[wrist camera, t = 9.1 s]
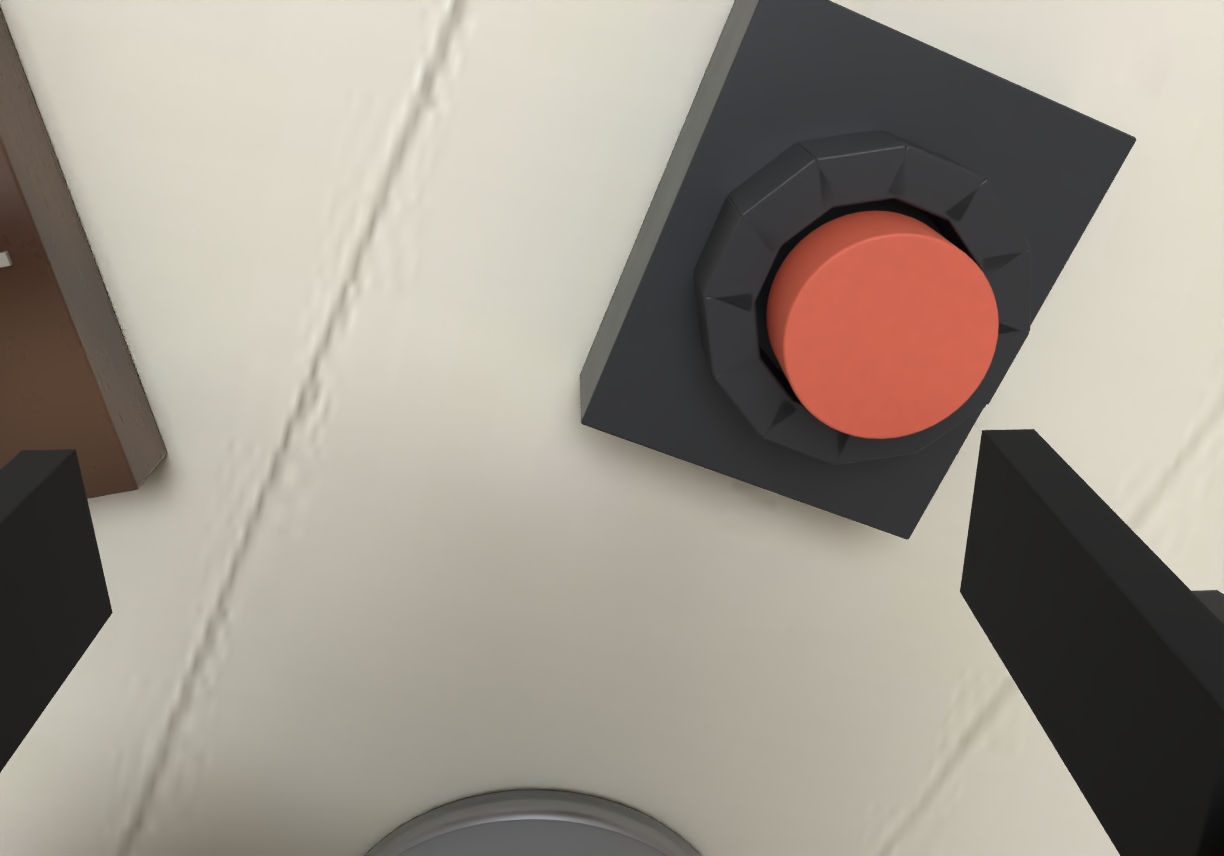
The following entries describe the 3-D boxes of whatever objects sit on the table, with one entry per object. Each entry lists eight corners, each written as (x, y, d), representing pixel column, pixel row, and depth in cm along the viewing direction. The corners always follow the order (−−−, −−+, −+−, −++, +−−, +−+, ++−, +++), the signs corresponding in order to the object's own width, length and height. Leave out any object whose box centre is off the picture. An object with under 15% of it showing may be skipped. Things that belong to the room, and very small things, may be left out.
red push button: (906, 428, 28) (934, 468, 25) (733, 363, 27) (747, 398, 25) (1001, 254, 26) (1040, 280, 24) (820, 178, 25) (843, 199, 23)
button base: (875, 483, 34) (933, 583, 29) (579, 375, 33) (580, 460, 27) (1074, 118, 30) (1186, 153, 25) (746, -28, 28) (788, -25, 23)
